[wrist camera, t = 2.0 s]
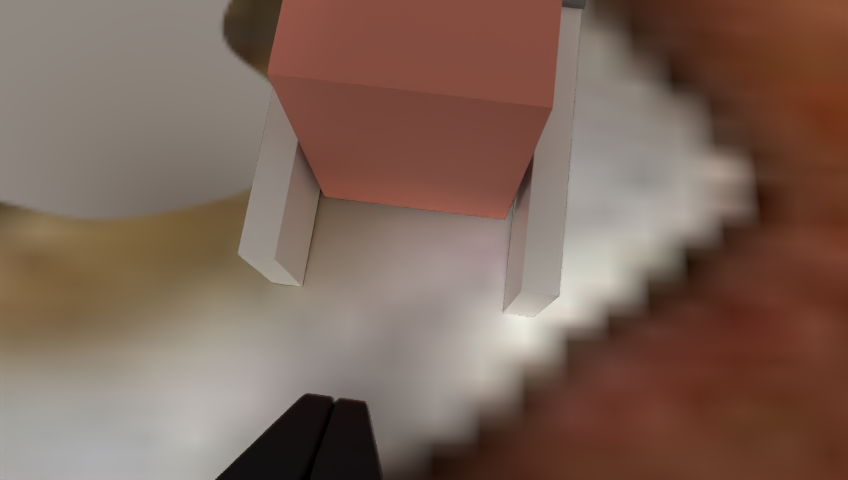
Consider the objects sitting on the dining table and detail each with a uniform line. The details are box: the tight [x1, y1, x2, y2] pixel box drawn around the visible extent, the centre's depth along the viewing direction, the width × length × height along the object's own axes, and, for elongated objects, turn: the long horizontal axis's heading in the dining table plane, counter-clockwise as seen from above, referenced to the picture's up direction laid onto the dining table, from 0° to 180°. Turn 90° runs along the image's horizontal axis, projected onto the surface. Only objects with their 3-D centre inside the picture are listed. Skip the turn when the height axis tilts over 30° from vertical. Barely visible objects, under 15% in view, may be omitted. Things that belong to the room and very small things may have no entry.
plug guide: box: [238, 0, 586, 317], centre depth 21 cm, size 19×9×4 cm, turn 172°
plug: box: [267, 0, 562, 219], centre depth 18 cm, size 6×6×8 cm
